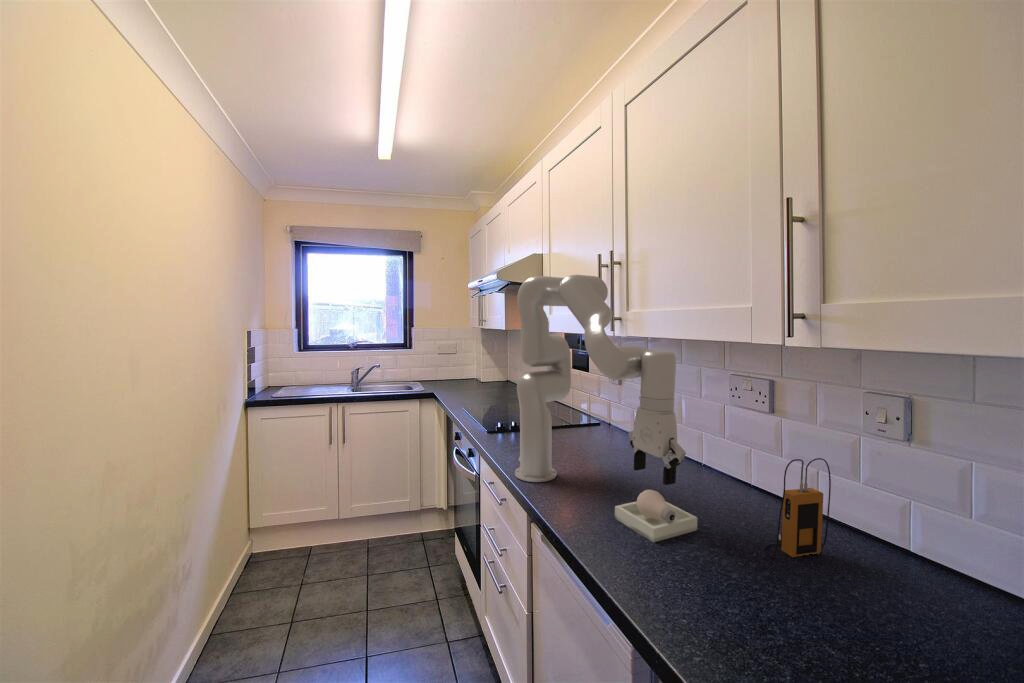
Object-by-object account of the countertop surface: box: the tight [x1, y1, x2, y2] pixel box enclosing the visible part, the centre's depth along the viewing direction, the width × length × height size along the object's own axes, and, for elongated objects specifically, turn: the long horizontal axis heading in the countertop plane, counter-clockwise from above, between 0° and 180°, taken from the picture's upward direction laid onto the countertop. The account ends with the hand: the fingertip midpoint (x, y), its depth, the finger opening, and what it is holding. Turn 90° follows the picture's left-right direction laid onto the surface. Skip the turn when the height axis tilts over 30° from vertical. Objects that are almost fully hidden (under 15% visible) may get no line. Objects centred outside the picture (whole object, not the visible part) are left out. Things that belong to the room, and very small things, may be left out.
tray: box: [614, 500, 698, 543], centre depth 107 cm, size 13×13×3 cm
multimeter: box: [764, 457, 832, 559], centre depth 97 cm, size 15×10×20 cm
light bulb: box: [636, 488, 676, 522], centre depth 106 cm, size 7×7×11 cm
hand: (653, 476), depth 107 cm, fingers open, 9 cm apart
